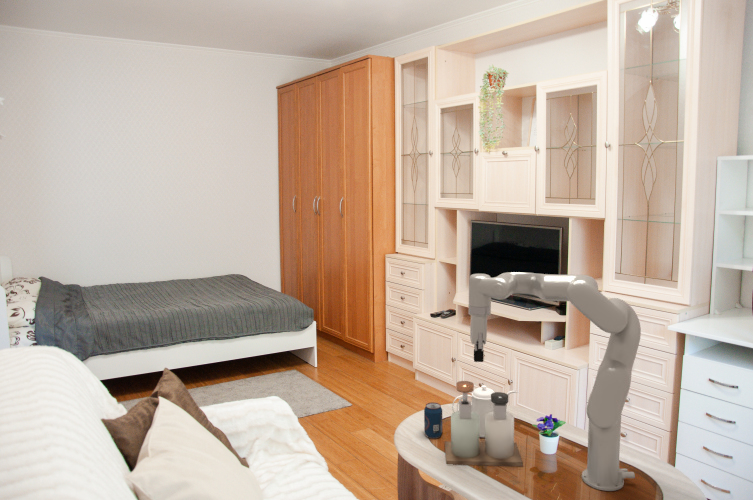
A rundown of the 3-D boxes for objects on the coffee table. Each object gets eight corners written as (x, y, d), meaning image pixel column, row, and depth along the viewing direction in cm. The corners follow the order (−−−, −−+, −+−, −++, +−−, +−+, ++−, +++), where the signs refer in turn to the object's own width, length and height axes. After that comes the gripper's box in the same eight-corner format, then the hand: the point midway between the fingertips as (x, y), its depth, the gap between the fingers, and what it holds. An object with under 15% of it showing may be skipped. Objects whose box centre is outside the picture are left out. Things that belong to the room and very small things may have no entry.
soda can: (422, 431, 218) (422, 402, 216) (439, 430, 219) (439, 400, 217) (427, 440, 211) (427, 409, 209) (444, 438, 212) (444, 408, 210)
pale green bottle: (477, 444, 203) (478, 397, 201) (480, 458, 194) (480, 409, 191) (450, 444, 204) (450, 397, 202) (451, 457, 194) (451, 408, 192)
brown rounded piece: (472, 401, 199) (472, 380, 198) (474, 408, 193) (474, 387, 192) (456, 401, 200) (455, 380, 199) (457, 408, 194) (456, 387, 193)
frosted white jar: (511, 445, 202) (511, 397, 200) (515, 459, 192) (516, 409, 190) (483, 444, 203) (483, 397, 201) (486, 458, 193) (486, 409, 191)
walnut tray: (516, 446, 204) (516, 442, 204) (522, 466, 191) (522, 462, 190) (444, 445, 207) (444, 441, 206) (446, 464, 193) (446, 460, 193)
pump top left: (506, 412, 199) (507, 392, 198) (509, 420, 193) (509, 399, 192) (489, 412, 199) (490, 392, 198) (491, 419, 193) (492, 398, 192)
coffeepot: (520, 439, 209) (520, 391, 207) (453, 438, 212) (452, 390, 209) (515, 426, 220) (516, 381, 218) (452, 425, 223) (451, 380, 220)
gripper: (467, 304, 199) (466, 353, 202) (470, 315, 184) (469, 368, 187) (488, 304, 198) (487, 354, 201) (493, 315, 184) (491, 369, 186)
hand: (478, 361), depth 194 cm, fingers closed
